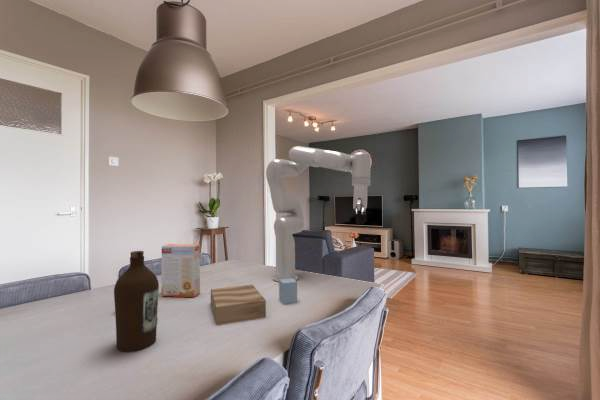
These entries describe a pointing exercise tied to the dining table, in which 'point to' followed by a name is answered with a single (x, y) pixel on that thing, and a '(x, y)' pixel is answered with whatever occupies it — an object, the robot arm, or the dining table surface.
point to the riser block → (237, 304)
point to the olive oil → (136, 306)
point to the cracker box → (181, 270)
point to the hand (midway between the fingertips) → (360, 223)
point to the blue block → (288, 291)
